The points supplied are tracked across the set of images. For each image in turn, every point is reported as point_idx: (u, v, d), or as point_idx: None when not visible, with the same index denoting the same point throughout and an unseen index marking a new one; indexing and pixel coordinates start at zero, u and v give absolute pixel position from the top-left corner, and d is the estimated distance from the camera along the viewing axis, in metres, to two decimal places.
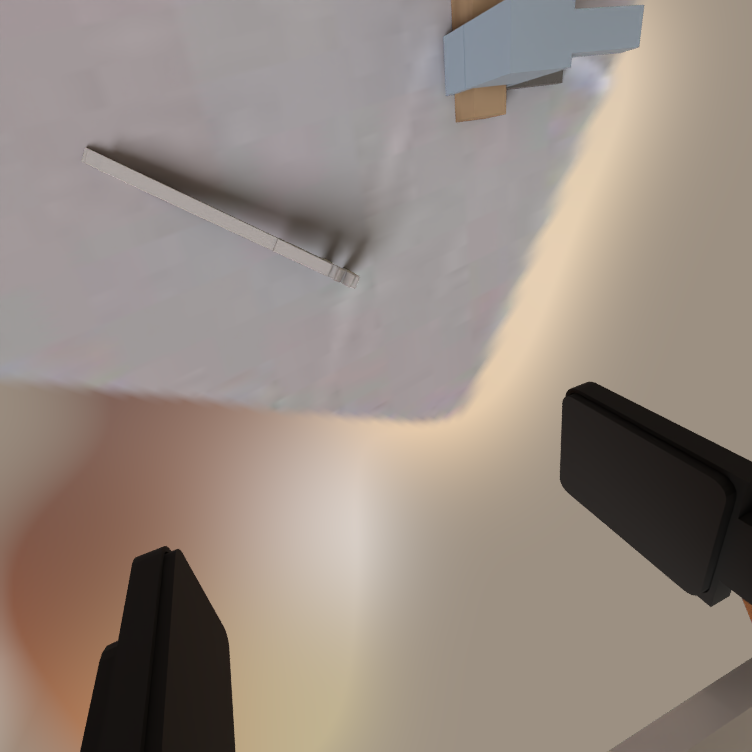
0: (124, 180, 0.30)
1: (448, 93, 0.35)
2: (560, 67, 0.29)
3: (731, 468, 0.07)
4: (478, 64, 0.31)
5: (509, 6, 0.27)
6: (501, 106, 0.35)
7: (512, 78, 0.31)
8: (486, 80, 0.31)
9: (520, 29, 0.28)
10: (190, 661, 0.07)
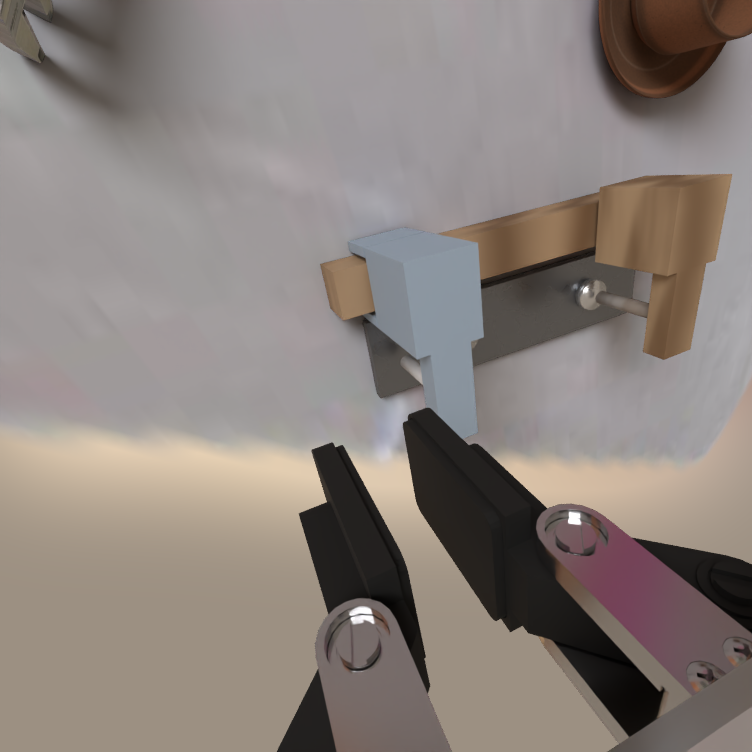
0: None
1: (351, 241, 0.27)
2: (415, 343, 0.22)
3: (500, 502, 0.07)
4: (395, 246, 0.23)
5: (468, 244, 0.21)
6: (350, 311, 0.26)
7: (389, 293, 0.23)
8: (382, 254, 0.22)
9: (448, 266, 0.21)
10: None
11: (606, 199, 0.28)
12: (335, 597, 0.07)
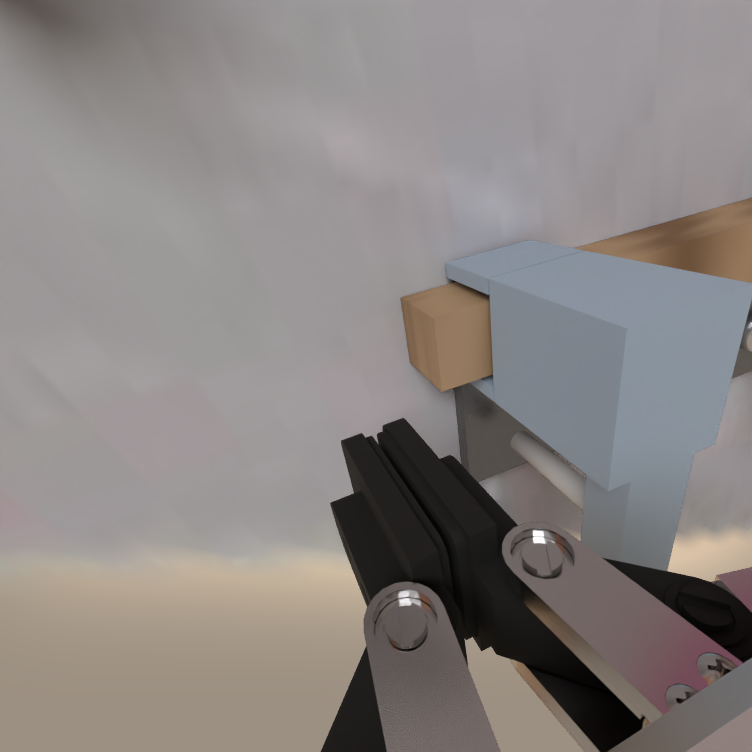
0: None
1: (452, 263, 0.17)
2: (611, 466, 0.12)
3: (466, 520, 0.07)
4: (556, 280, 0.13)
5: (735, 287, 0.11)
6: (454, 377, 0.16)
7: (549, 365, 0.13)
8: (547, 298, 0.12)
9: (697, 329, 0.11)
10: None
11: None
12: (375, 582, 0.07)
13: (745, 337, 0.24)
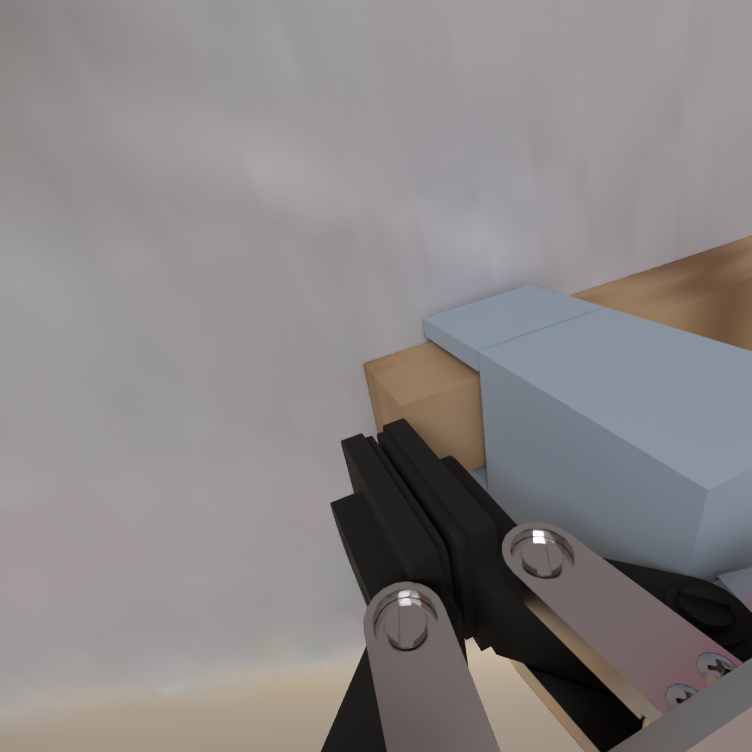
0: None
1: (432, 320, 0.13)
2: None
3: (466, 520, 0.07)
4: (573, 363, 0.09)
5: None
6: None
7: (566, 489, 0.09)
8: (564, 400, 0.08)
9: None
10: None
11: None
12: (375, 582, 0.07)
13: None
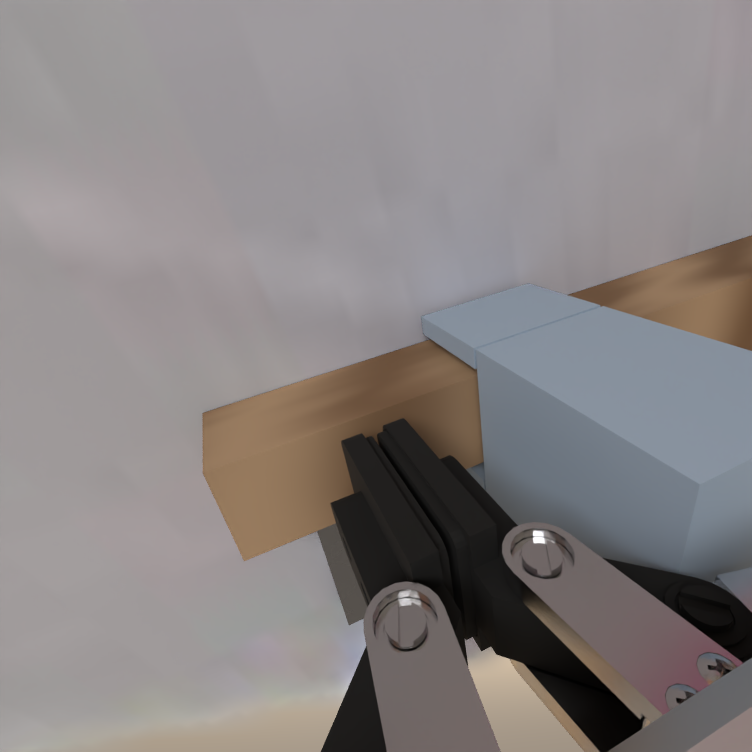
0: None
1: (430, 319, 0.13)
2: None
3: (466, 520, 0.07)
4: (569, 360, 0.09)
5: None
6: (260, 540, 0.11)
7: (562, 485, 0.09)
8: (560, 396, 0.08)
9: None
10: None
11: None
12: (375, 582, 0.07)
13: None
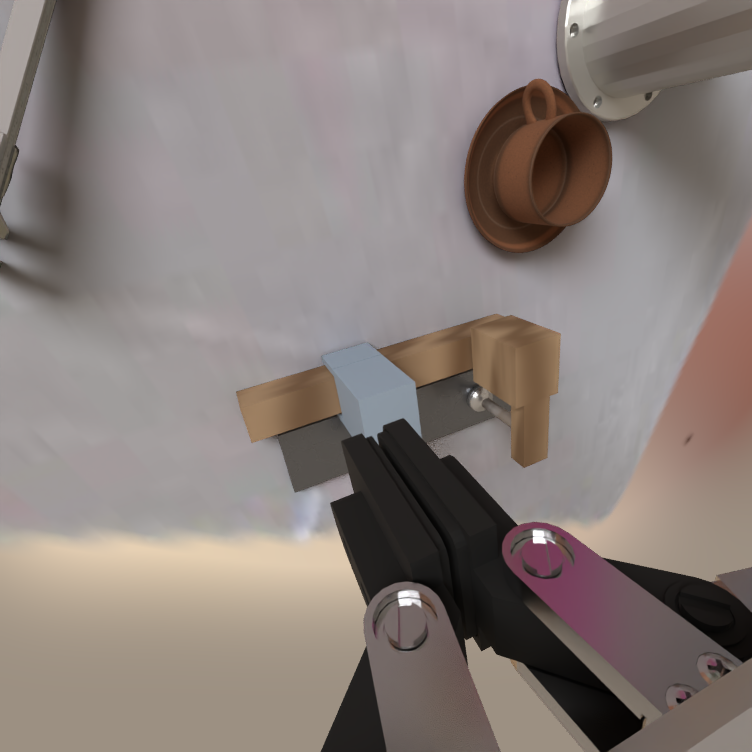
0: None
1: (324, 357, 0.34)
2: None
3: (466, 520, 0.07)
4: (356, 373, 0.30)
5: (407, 383, 0.28)
6: (257, 435, 0.32)
7: (350, 410, 0.30)
8: (345, 383, 0.29)
9: (392, 399, 0.28)
10: None
11: (475, 337, 0.35)
12: (375, 582, 0.07)
13: (469, 402, 0.41)
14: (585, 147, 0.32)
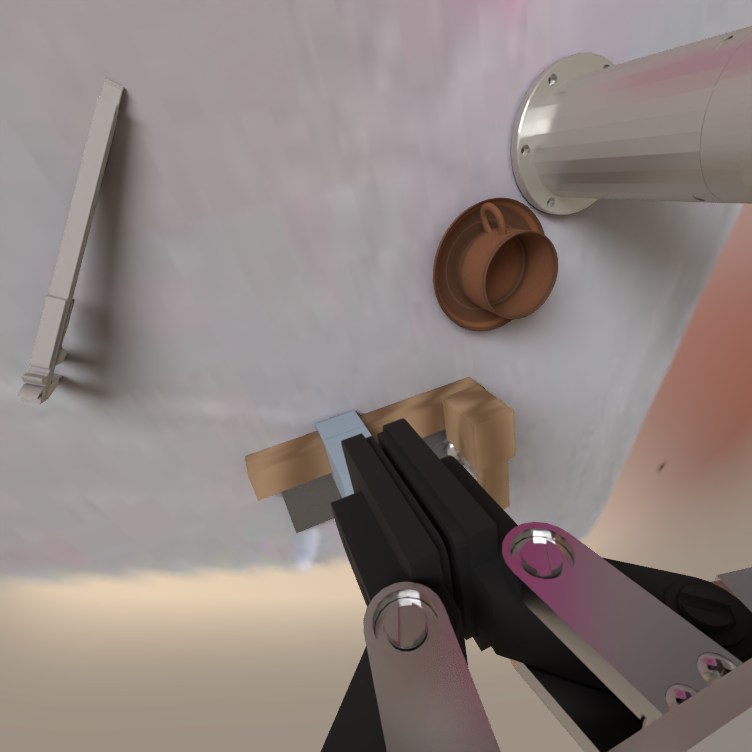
0: (93, 124, 0.26)
1: (317, 425, 0.40)
2: None
3: (466, 520, 0.07)
4: (341, 446, 0.37)
5: None
6: (263, 494, 0.39)
7: (337, 478, 0.36)
8: (332, 457, 0.36)
9: None
10: None
11: (445, 406, 0.41)
12: (375, 582, 0.07)
13: (446, 452, 0.47)
14: (537, 248, 0.38)
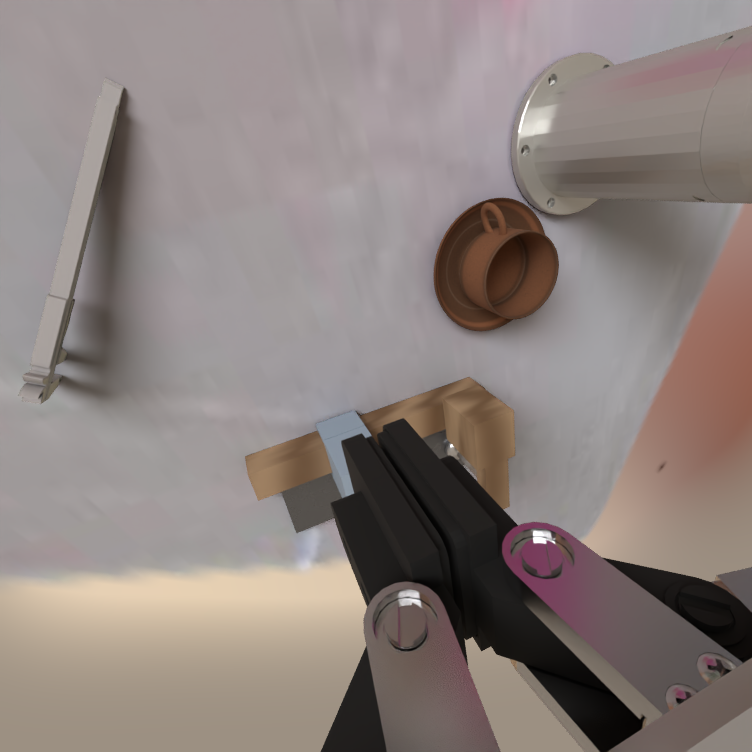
0: (93, 124, 0.26)
1: (317, 425, 0.40)
2: None
3: (466, 519, 0.07)
4: (341, 446, 0.37)
5: None
6: (263, 494, 0.39)
7: (337, 478, 0.36)
8: (332, 457, 0.36)
9: None
10: None
11: (445, 406, 0.41)
12: (375, 582, 0.07)
13: (446, 452, 0.47)
14: (538, 248, 0.38)
